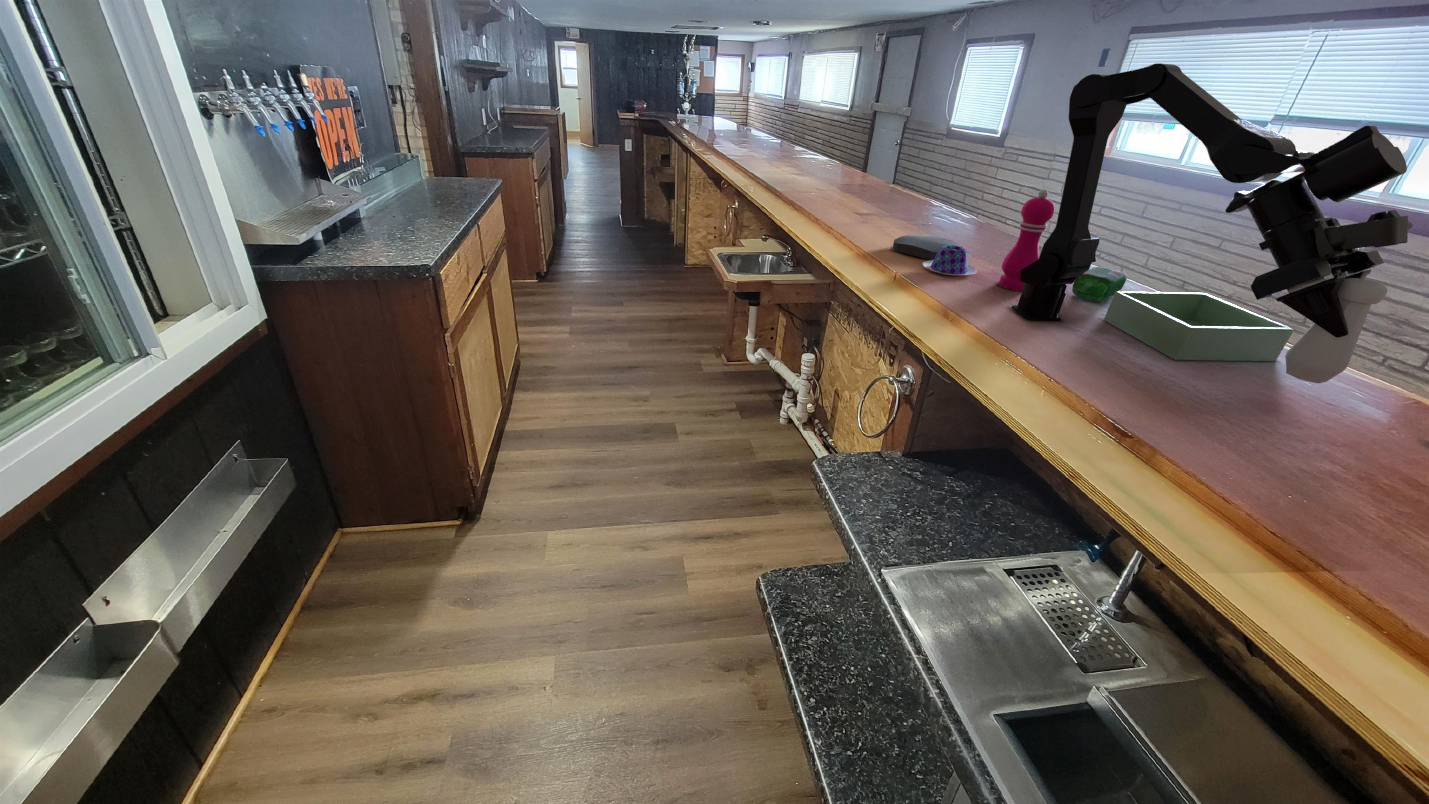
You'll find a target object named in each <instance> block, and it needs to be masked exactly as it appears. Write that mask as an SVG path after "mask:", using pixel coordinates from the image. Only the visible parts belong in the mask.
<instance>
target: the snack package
mask: <svg viewBox="0 0 1429 804" xmlns="http://www.w3.org/2000/svg"><path fill="white" fill-rule="evenodd" d="M1127 279H1128V275H1127V274H1126V273H1125V272H1123V271H1121V270H1116V269H1112V268H1107V267H1102V266H1093V267H1090V268H1089V270H1088V271H1087V272H1085V273H1084V274H1082V275H1081V276H1078V277H1077V279H1076V280H1075V281H1074V282H1073V283H1072V288H1071V291H1072V293H1073V295H1074V296H1075V297H1077V298H1080V299H1083V300H1088V301H1091V302H1095V303H1102V302H1104V301H1106V300H1107V299H1109V298H1111V297H1113V296H1114V294H1115V291H1121V290H1122V289H1123V288H1124V286H1125V284H1126V282H1127Z"/></svg>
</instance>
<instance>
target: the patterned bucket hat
mask: <svg viewBox="0 0 1429 804" xmlns="http://www.w3.org/2000/svg"><path fill="white" fill-rule="evenodd" d="M922 266H923V267H924V268H925V269H927V270H930V271H932V272H935V273H937V274H941V275H945V276H953V277H955V276H956V277H959V276H960V277H961V276H972V275H975V274H977V272H978V270H977V269H976V268H975V267H974V266H972V265H969V264H968V250H967V248H965V247H964V246H963V247H958V246H953V245H952V246H950V245H945V246H942V247H941V248H940V249H939V251H938V253H937V255H936V257H935V259H934V260H930V259H929V260H926V261H923V262H922Z"/></svg>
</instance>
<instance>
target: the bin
mask: <svg viewBox="0 0 1429 804" xmlns="http://www.w3.org/2000/svg"><path fill="white" fill-rule="evenodd" d="M1103 321H1105V322H1107V323H1108V324H1110V325H1112V326H1114V327H1115V328H1118V329H1119V330H1121V331H1123V332H1124V333H1127V334H1129V335H1130V336H1132V337H1134V338H1135V339H1137V340H1138V341H1141V342H1143V343H1145V345H1148V346H1150V347H1151V348H1153V349H1155V350H1157V351H1158V352H1160V353H1162V354H1164V355H1165V356H1167V357H1170V358H1171V359H1173V360H1175V361H1228V362H1229V361H1231V362H1232V361H1234V362H1235V361H1236V362H1237V361H1239V362H1240V361H1241V362H1242V361H1245V362H1277V360H1278V358H1279V357H1280V355H1281V353H1282V352H1283V350H1284V347H1285V346H1286V345H1287V343H1288V341H1289V340H1290V338H1291V336H1292V335H1293V334H1294V331H1295V328H1292V327H1289V326H1287V325H1285V324H1282V323H1280V322H1278V321H1275V320H1274V319H1273V320H1272V319H1270V318H1267V317H1265V316H1263V315H1260V314H1259V313H1256V312H1253V311H1250V310H1248V309H1245V308H1243V307H1240V306H1237V305H1236V304H1233V303H1231V302H1228V301H1226V300H1223V299H1221V298H1218V297H1216V296H1213V295H1211V294H1209V293H1207V292H1178V291H1177V292H1175V291H1172V292H1171V291H1127V290H1126V291H1125V290H1123V291H1121V290H1120V291H1115V294H1114V295H1113V296H1112V298H1111V301H1110V304H1109V306H1108V309H1107V311H1106V314H1105V316H1104V317H1103Z"/></svg>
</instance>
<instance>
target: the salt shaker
mask: <svg viewBox="0 0 1429 804" xmlns="http://www.w3.org/2000/svg"><path fill="white" fill-rule="evenodd" d="M1388 291H1389V290H1388V288H1387V286H1386V285H1384V284H1382V283H1380V282H1379V281H1375V280H1371V279H1366V278H1365V279H1360V278H1347V279H1345V280H1344V281H1343V283H1342V285H1341V286H1340V288H1339V290H1338V297H1339V300H1340V303H1341V307H1342V310H1343V313H1344V316H1345V320H1346V323H1347V327H1348V332H1349V334H1348V335H1346V336H1343V337H1339V338H1336V337H1334V336H1333V335H1331V334H1330V333H1328V332H1327V331H1325V330H1324V329H1323V328H1321V327H1320V326H1318V325H1317V324H1315V323H1314V322H1313V323H1312V325H1311V326H1310V327H1309V328H1308V329H1307V330H1306V331H1305V332H1304V333H1303V334H1302V335H1301V336H1300V337H1299V338H1298V340H1296V342H1295V343H1294V344H1293V345H1292V346H1291V347H1290V348H1289V349H1288V350H1287V351H1286V353H1285V356H1284V357H1285V374H1287V375H1289V376H1292V377H1294V378H1296V379H1298V380H1301V381H1303V382H1309V383H1314V384H1322V383H1327V382H1329V381H1330V380H1332V379H1334V378H1335V377H1337V376H1339V374H1342V373H1343V372H1344V371H1346V369H1347V368H1348V366H1349V364H1350V362H1351V359H1352V357H1353V354H1354V351H1355V348H1356V345H1357V343H1358V340H1359V338H1360V335H1361V333H1362V330H1363V328H1364V324H1365V322H1366V319H1367V317H1368V314H1369V312H1370V309H1371V306H1372V305H1377V304H1379V303H1381V302H1382V301H1383V299H1384V298H1385V297H1386V296H1387V293H1388Z"/></svg>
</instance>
